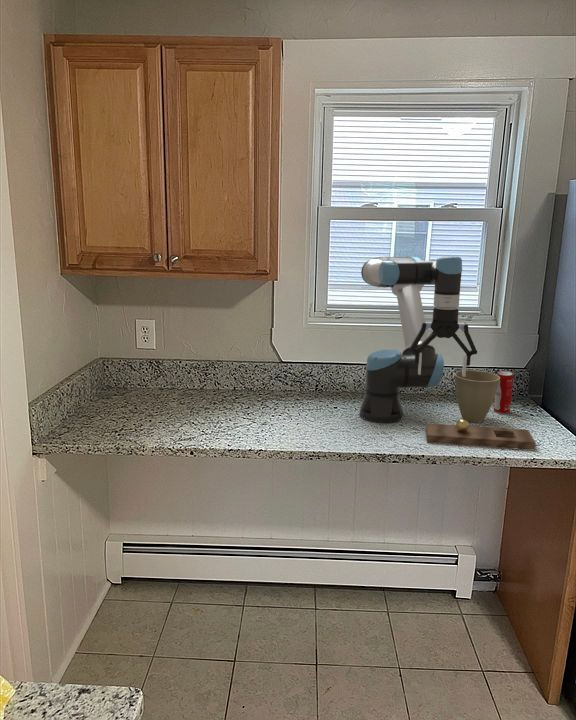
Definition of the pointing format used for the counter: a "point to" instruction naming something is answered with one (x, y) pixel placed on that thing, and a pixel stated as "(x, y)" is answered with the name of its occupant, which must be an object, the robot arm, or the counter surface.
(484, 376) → the plant pot
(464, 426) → the brass ball
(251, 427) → the counter surface
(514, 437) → the board
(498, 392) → the beverage can
